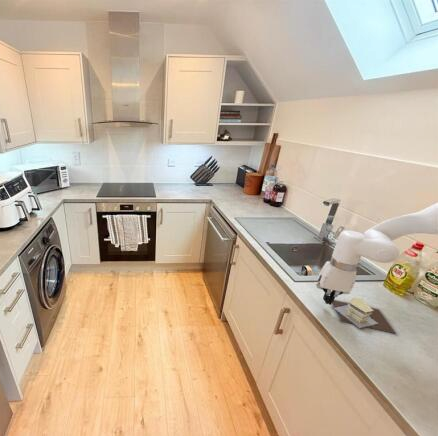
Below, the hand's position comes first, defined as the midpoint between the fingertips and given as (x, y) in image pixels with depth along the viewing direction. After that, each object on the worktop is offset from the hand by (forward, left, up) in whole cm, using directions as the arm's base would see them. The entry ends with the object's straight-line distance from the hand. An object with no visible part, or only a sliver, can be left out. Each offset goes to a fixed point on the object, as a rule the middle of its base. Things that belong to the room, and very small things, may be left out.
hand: (327, 301), depth 93 cm
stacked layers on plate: (-10, +1, -3) cm, 10 cm away
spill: (-12, 0, -3) cm, 12 cm away
